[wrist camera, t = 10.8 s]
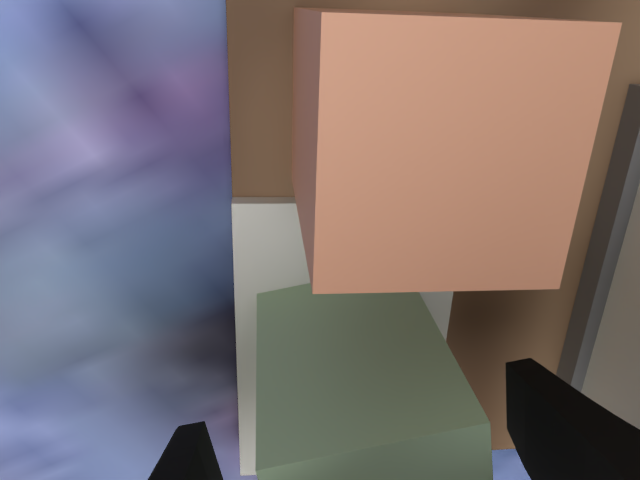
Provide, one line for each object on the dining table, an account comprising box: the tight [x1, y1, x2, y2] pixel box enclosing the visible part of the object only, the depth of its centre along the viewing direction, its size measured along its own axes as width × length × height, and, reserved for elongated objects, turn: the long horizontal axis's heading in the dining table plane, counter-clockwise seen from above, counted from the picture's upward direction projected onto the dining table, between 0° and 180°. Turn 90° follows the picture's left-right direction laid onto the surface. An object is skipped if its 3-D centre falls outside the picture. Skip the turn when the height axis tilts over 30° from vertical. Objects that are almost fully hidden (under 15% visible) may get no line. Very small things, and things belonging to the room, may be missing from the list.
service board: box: [226, 0, 640, 450], centre depth 14 cm, size 15×23×1 cm, turn 178°
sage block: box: [255, 283, 493, 480], centre depth 13 cm, size 4×4×6 cm
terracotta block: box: [292, 7, 622, 294], centre depth 11 cm, size 4×4×6 cm
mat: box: [231, 197, 453, 476], centre depth 16 cm, size 6×9×1 cm, turn 178°
